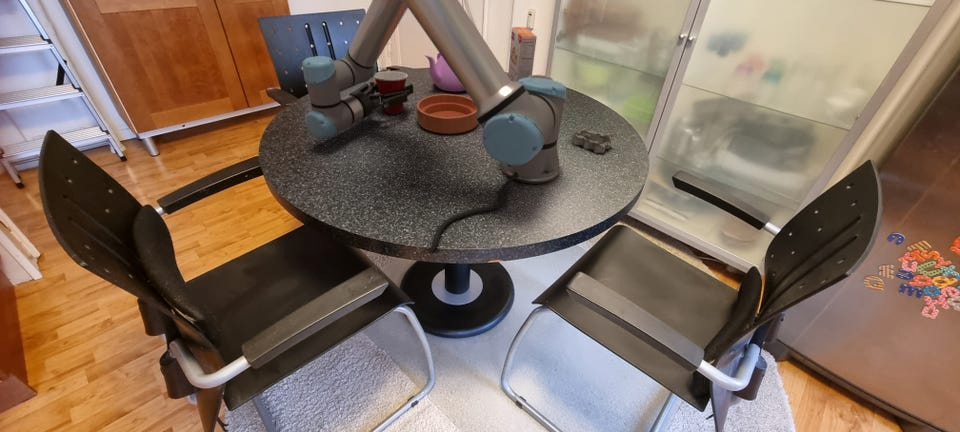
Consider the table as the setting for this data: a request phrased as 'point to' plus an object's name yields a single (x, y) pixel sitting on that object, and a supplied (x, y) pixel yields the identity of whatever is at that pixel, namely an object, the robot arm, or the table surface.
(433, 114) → the bowl
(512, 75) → the cracker box
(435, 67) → the teapot
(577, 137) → the egg carton
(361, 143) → the table surface
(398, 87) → the plastic cup
